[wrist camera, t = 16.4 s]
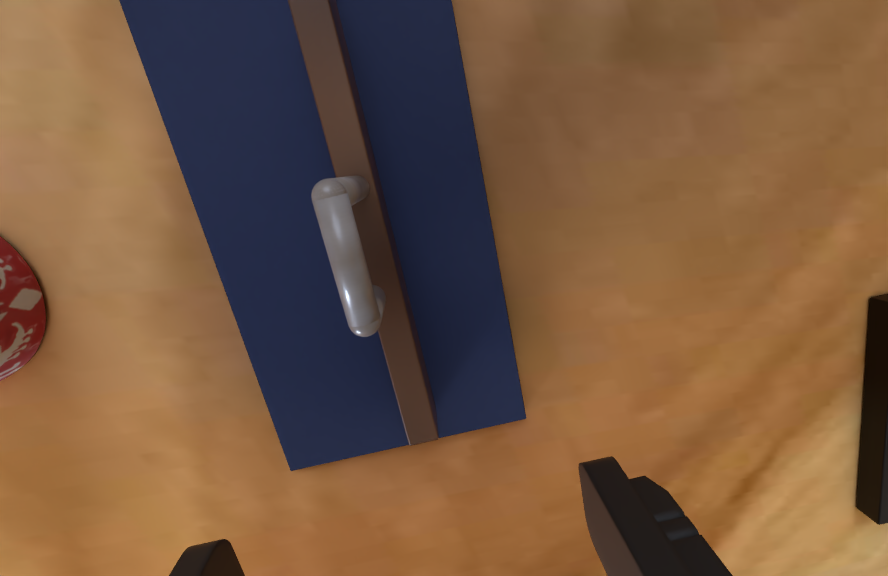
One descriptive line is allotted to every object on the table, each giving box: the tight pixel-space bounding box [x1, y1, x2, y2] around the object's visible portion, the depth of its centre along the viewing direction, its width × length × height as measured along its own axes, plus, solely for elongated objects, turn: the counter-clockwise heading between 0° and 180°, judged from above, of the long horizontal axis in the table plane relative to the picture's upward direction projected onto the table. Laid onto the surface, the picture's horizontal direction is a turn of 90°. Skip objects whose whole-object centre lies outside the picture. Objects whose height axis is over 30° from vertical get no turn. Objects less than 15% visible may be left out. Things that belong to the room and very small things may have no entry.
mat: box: [120, 0, 526, 471], centre depth 17 cm, size 20×11×1 cm, turn 12°
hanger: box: [288, 0, 439, 445], centre depth 13 cm, size 17×1×8 cm, turn 12°
